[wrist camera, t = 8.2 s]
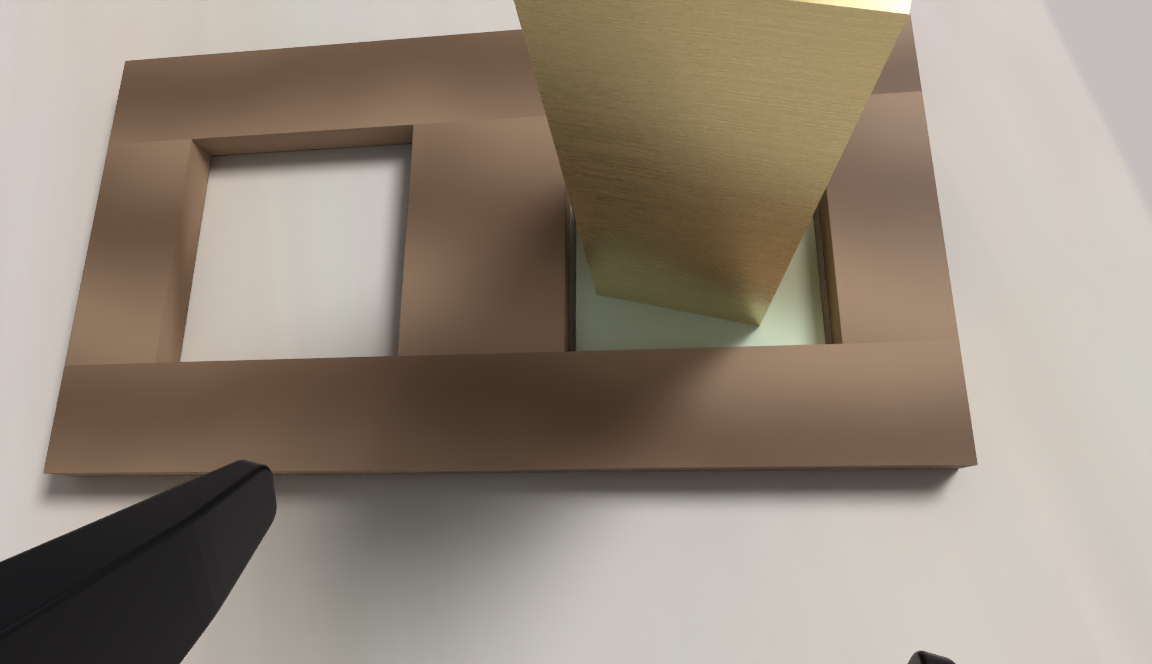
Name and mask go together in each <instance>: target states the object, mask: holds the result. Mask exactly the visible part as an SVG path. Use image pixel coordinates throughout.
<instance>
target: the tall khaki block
mask: <svg viewBox="0 0 1152 664" xmlns="http://www.w3.org/2000/svg"><path fill="white" fill-rule="evenodd" d="M514 3H515V6H516V10H517V14H518V17H519V21H520V24H521V28H522V31H523V35H524V39H525V42H526V46H527V49H528V53H529V56H530V60H531V64H532V67H533V71H534V74H535V78H536V81H537V85H538V88H539V92H540V96H541V99H542V103H543V106H544V110H545V113H546V117H547V121H548V124H549V128H550V131H551V135H552V138H553V142H554V146H555V149H556V153H557V156H558V160H559V163H560V167H561V170H562V174H563V178H564V181H565V185H566V188H567V192H568V195H569V199H570V203H571V206H572V210H573V213H574V217H575V220H576V224H577V228H578V231H579V235H580V238H581V242H582V245H583V249H584V253H585V256H586V260H587V263H588V267H589V270H590V274H591V277H592V281H593V285H594V288H595V292H596V295H601V296H606V297H611V298H616V299H621V300H626V301H631V302H637V303H642V304H647V305H652V306H657V307H662V308H668V309H673V310H678V311H683V312H688V313H693V314H698V315H704V316H709V317H714V318H719V319H724V320H729V321H734V322H740V323H745V324H750V325H755V326H760V325H761V323H762V321H763V318H764V316H765V314H766V312H767V310H768V308H769V306H770V304H771V302H772V300H773V298H774V295H775V293H776V291H777V289H778V287H779V285H780V283H781V281H782V279H783V277H784V275H785V272H786V270H787V268H788V266H789V264H790V262H791V260H792V258H793V256H794V254H795V252H796V249H797V247H798V245H799V243H800V241H801V239H802V237H803V235H804V233H805V231H806V229H807V226H808V224H809V222H810V220H811V218H812V216H813V214H814V212H815V210H816V208H817V206H818V203H819V201H820V199H821V197H822V195H823V193H824V191H825V189H826V187H827V185H828V183H829V180H830V178H831V176H832V174H833V172H834V170H835V168H836V166H837V164H838V162H839V160H840V157H841V155H842V153H843V151H844V149H845V147H846V145H847V143H848V141H849V139H850V137H851V134H852V132H853V130H854V128H855V126H856V124H857V122H858V120H859V118H860V116H861V114H862V112H863V109H864V107H865V105H866V103H867V101H868V99H869V97H870V95H871V93H872V91H873V89H874V86H875V84H876V82H877V80H878V78H879V76H880V74H881V72H882V70H883V68H884V66H885V63H886V61H887V59H888V57H889V55H890V53H891V51H892V49H893V47H894V45H895V43H896V40H897V38H898V36H899V34H900V32H901V30H902V28H903V26H904V24H905V22H906V20H907V17H908V15H909V11H910V5H911V0H514Z"/></svg>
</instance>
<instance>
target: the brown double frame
mask: <svg viewBox="0 0 1152 664" xmlns="http://www.w3.org/2000/svg"><path fill="white" fill-rule="evenodd" d="M406 143H412V156H411V170H410V184H409V198H408V213H407V227H406V241H405V255H404V269H403V284H402V298H401V312H400V326H399V341H398V355H397V356H384V357H348V358H312V359H276V360H240V361H204V362H180V356H181V350H182V343H183V337H184V330H185V324H186V317H187V311H188V305H189V298H190V292H191V285H192V279H193V272H194V266H195V259H196V253H197V246H198V240H199V233H200V227H201V220H202V214H203V208H204V201H205V195H206V188H207V182H208V175H209V169H210V162H211V156H214V155H230V154H246V153H262V152H278V151H294V150H310V149H326V148H342V147H358V146H374V145H390V144H406ZM819 213H820V223H821V233H822V244H823V254H824V264H825V274H826V284H827V294H828V304H829V314H830V324H831V334H832V344H826V343H825V333H824V322H823V312H822V302H821V292H820V281H819V271H818V261H817V250H816V240H815V230H814V219H813V216H812V218H811V220H810V222H809V224H808V226H807V229H806V231H805V233H804V235H803V237H802V239H801V241H800V243H799V245H798V247H797V249H796V252H795V254H794V256H793V258H792V260H791V262H790V264H789V266H788V268H787V270H786V272H785V275H784V277H783V279H782V281H781V283H780V285H779V287H778V289H777V291H776V293H775V295H774V298H773V300H772V302H771V304H770V306H769V308H768V310H767V312H766V314H765V316H764V318H763V321H762V323H761V325H760V326H755V325H750V324H745V323H740V322H734V321H729V320H724V319H719V318H714V317H709V316H704V315H698V314H693V313H688V312H683V311H678V310H673V309H668V308H662V307H657V306H652V305H647V304H642V303H637V302H631V301H626V300H621V299H616V298H611V297H606V296H601V295H596V292H595V288H594V285H593V281H592V277H591V274H590V270H589V267H588V263H587V260H586V256H585V253H584V249H583V245H582V242H581V238H580V235H579V231H578V228H577V224H576V351H569V234H570V199H569V195H568V192H567V188H566V185H565V181H564V178H563V174H562V170H561V167H560V163H559V160H558V156H557V153H556V149H555V146H554V142H553V138H552V135H551V131H550V128H549V124H548V121H547V117H546V113H545V110H544V106H543V103H542V99H541V96H540V92H539V88H538V85H537V81H536V78H535V74H534V71H533V67H532V64H531V60H530V56H529V53H528V49H527V46H526V42H525V39H524V35H523V31H522V29H521V30H509V31H496V32H484V33H471V34H458V35H446V36H433V37H421V38H408V39H396V40H383V41H371V42H358V43H345V44H333V45H320V46H308V47H295V48H283V49H270V50H258V51H245V52H233V53H220V54H207V55H195V56H182V57H170V58H157V59H145V60H132V61H125V65H124V70H123V75H122V80H121V85H120V90H119V95H118V100H117V105H116V110H115V115H114V120H113V125H112V130H111V135H110V140H109V146H108V151H107V156H106V161H105V166H104V171H103V176H102V181H101V186H100V191H99V196H98V201H97V206H96V211H95V216H94V221H93V226H92V231H91V236H90V241H89V246H88V251H87V256H86V261H85V266H84V271H83V276H82V281H81V286H80V291H79V296H78V301H77V306H76V311H75V316H74V321H73V326H72V332H71V337H70V342H69V347H68V352H67V357H66V362H65V367H64V372H63V377H62V382H61V387H60V392H59V397H58V402H57V407H56V412H55V417H54V422H53V427H52V432H51V437H50V442H49V447H48V452H47V457H46V462H45V467H44V472H43V473H46V474H57V475H68V476H119V475H204V474H207V473H209V472H211V471H214V470H216V469H218V468H221V467H223V466H225V465H228V464H230V463H232V462H235V461H238V460H241V459H247V460H251V461H254V462H258V463H261V464H265V465H267V466H268V467H269V468H270V470H271V472H272V474H351V473H467V472H584V471H700V470H816V469H932V468H964V467H969V466H974V465H977V458H976V451H975V444H974V438H973V431H972V424H971V418H970V411H969V404H968V398H967V391H966V384H965V378H964V371H963V364H962V357H961V351H960V344H959V337H958V331H957V324H956V317H955V311H954V304H953V297H952V290H951V284H950V277H949V270H948V264H947V257H946V250H945V244H944V237H943V230H942V223H941V217H940V210H939V203H938V197H937V190H936V183H935V177H934V170H933V163H932V156H931V150H930V143H929V136H928V130H927V123H926V116H925V110H924V103H923V96H922V90H921V83H920V76H919V69H918V63H917V56H916V49H915V43H914V36H913V29H912V23H911V16H910V11H909V15H908V17H907V20H906V22H905V24H904V26H903V28H902V30H901V32H900V34H899V36H898V38H897V40H896V43H895V45H894V47H893V49H892V51H891V53H890V55H889V57H888V59H887V61H886V63H885V66H884V68H883V70H882V72H881V74H880V76H879V78H878V80H877V82H876V84H875V86H874V89H873V91H872V93H871V95H870V97H869V99H868V101H867V103H866V105H865V107H864V109H863V112H862V114H861V116H860V118H859V120H858V122H857V124H856V126H855V128H854V130H853V132H852V134H851V137H850V139H849V141H848V143H847V145H846V147H845V149H844V151H843V153H842V155H841V157H840V160H839V162H838V164H837V166H836V168H835V170H834V172H833V174H832V176H831V178H830V180H829V183H828V185H827V187H826V189H825V191H824V193H823V195H822V197H821V199H820V201H819Z"/></svg>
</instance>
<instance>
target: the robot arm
mask: <svg viewBox="0 0 1152 664" xmlns="http://www.w3.org/2000/svg"><path fill="white" fill-rule="evenodd" d="M276 508H277V504H276V497H275V491H274V484H273V478H272V472H271V470H270V468H269V467H268V466H267V465H265V464H261V463H258V462H254V461H251V460H247V459H241V460H238V461H235V462H232V463H230V464H228V465H225V466H223V467H221V468H218V469H216V470H214V471H211V472H209V473H207V474H204V475H202V476H200V477H197V478H195V479H193V480H190V481H188V482H186V483H183V484H181V485H179V486H176V487H174V488H172V489H169V490H167V491H165V492H162V493H160V494H158V495H155V496H153V497H151V498H148V499H146V500H144V501H141V502H139V503H137V504H134V505H132V506H130V507H127V508H125V509H123V510H120V511H118V512H116V513H113V514H111V515H109V516H106V517H104V518H102V519H99V520H97V521H95V522H92V523H90V524H88V525H85V526H83V527H81V528H78V529H76V530H74V531H71V532H69V533H67V534H64V535H62V536H60V537H57V538H55V539H53V540H50V541H48V542H46V543H43V544H41V545H39V546H36V547H34V548H32V549H29V550H27V551H25V552H22V553H20V554H18V555H15V556H13V557H11V558H8V559H6V560H4V561H1V562H0V664H180V663H181V661H182V660H183V659H184V657H185V656H186V655H187V653H188V652H189V651H190V649H191V648H192V647H193V645H194V644H195V643H196V641H197V640H198V639H199V637H200V636H201V635H202V633H203V632H204V631H205V629H206V628H207V627H208V625H209V624H210V622H211V621H212V620H213V618H214V617H215V615H216V614H217V612H218V611H219V609H220V608H221V606H222V605H223V603H224V602H225V600H226V598H227V597H228V595H229V593H230V592H231V590H232V589H233V587H234V585H235V584H236V582H237V580H238V579H239V577H240V575H241V574H242V572H243V570H244V569H245V567H246V565H247V564H248V562H249V560H250V559H251V557H252V555H253V554H254V552H255V551H256V549H257V547H258V546H259V544H260V542H261V541H262V539H263V537H264V536H265V534H266V532H267V531H268V529H269V527H270V526H271V524H272V522H273V520H274V518H275V514H276ZM908 664H955V663H954V662H953V661H952V660H950V659H948V658H946V657H943V656H939V655H936V654H932V653H928V652H925V651H917V652H915V653H914V654H913V655H912V657H911V658H910V660H909V662H908Z"/></svg>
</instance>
